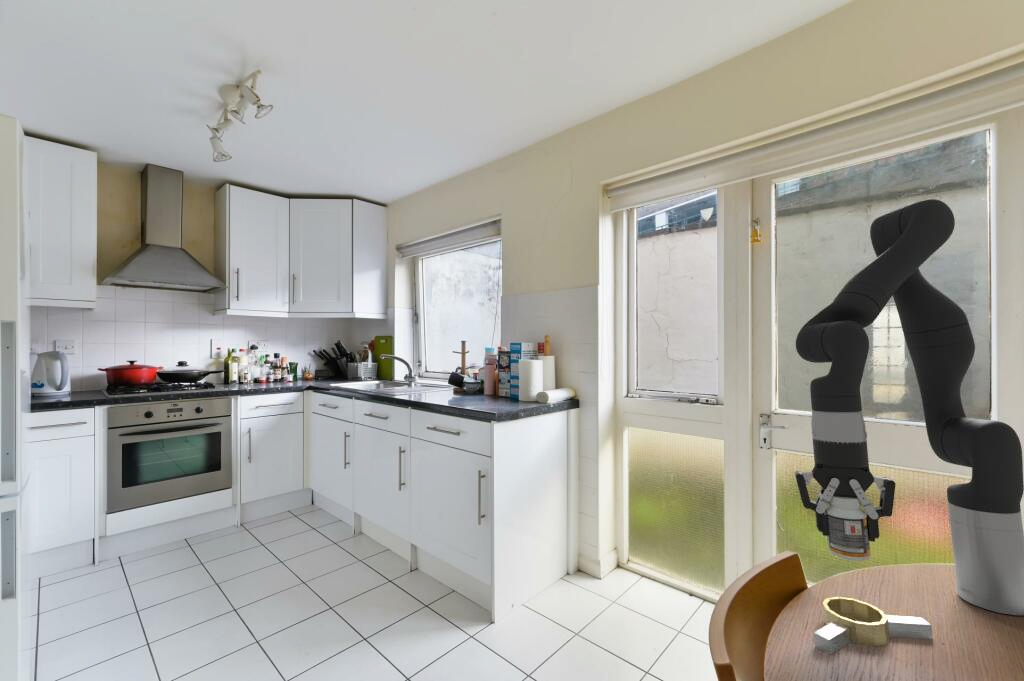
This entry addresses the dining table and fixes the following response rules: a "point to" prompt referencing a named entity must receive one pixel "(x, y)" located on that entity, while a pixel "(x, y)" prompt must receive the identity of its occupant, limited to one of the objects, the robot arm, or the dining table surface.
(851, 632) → the stand
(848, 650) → the dining table surface
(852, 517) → the pill bottle
